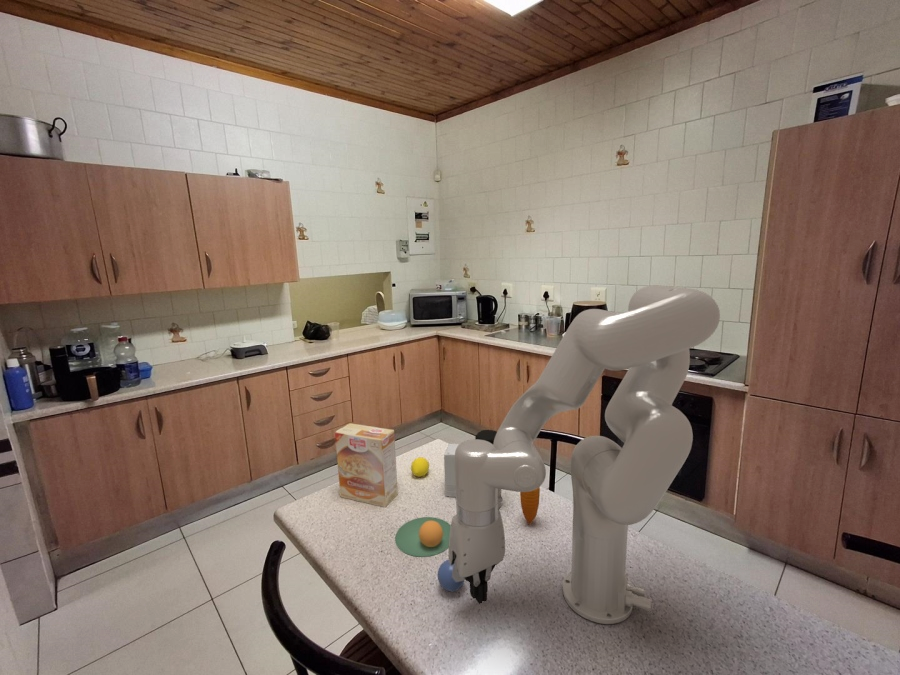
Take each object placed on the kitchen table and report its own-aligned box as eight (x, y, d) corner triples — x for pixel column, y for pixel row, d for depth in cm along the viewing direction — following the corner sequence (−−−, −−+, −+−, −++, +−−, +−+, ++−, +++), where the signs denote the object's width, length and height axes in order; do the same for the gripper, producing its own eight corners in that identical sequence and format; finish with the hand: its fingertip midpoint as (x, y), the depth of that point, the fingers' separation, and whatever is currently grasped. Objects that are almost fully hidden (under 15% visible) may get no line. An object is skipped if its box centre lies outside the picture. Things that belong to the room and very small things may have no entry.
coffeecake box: (339, 497, 114) (333, 431, 111) (354, 484, 121) (349, 422, 117) (385, 508, 108) (381, 439, 105) (398, 494, 115) (395, 428, 111)
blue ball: (454, 548, 82) (464, 564, 85) (430, 562, 82) (441, 578, 84) (462, 571, 77) (473, 587, 80) (437, 586, 77) (448, 602, 79)
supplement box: (471, 499, 111) (470, 456, 109) (444, 496, 113) (443, 454, 111) (474, 484, 118) (474, 444, 116) (449, 482, 120) (448, 442, 118)
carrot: (535, 532, 97) (536, 474, 94) (516, 526, 99) (516, 469, 97) (542, 521, 101) (543, 465, 98) (523, 515, 104) (524, 460, 101)
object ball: (443, 515, 95) (443, 536, 97) (420, 515, 96) (420, 535, 97) (442, 531, 90) (442, 553, 91) (417, 530, 90) (417, 552, 91)
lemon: (424, 482, 121) (422, 467, 120) (408, 479, 123) (406, 464, 122) (433, 468, 128) (431, 453, 126) (417, 466, 130) (416, 451, 128)
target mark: (464, 527, 100) (464, 526, 100) (436, 564, 88) (436, 563, 88) (415, 512, 106) (415, 511, 106) (383, 545, 94) (383, 544, 94)
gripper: (498, 487, 80) (499, 569, 84) (430, 511, 73) (434, 600, 76) (523, 506, 74) (522, 594, 77) (451, 535, 67) (454, 631, 70)
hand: (478, 597), depth 77 cm, fingers closed
